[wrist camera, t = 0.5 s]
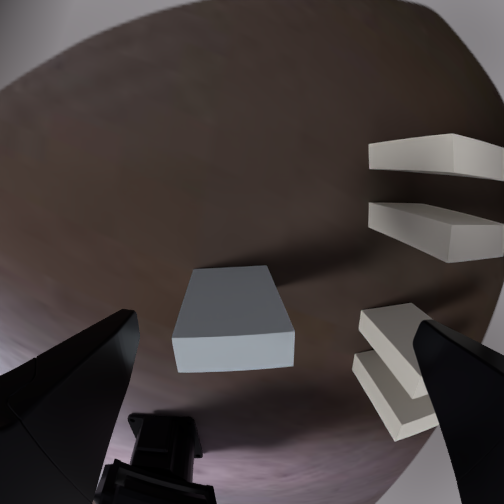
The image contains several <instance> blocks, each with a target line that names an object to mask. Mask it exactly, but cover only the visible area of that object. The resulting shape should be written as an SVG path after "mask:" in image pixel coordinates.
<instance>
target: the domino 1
mask: <svg viewBox="0 0 504 504" xmlns="http://www.w3.org/2000/svg"><path fill="white" fill-rule="evenodd" d="M294 339H295V331H294V328H293V326H292V323H291V321H290V319H289V316H288V314H287V312H286V309H285V307H284V305H283V302H282V300H281V298H280V295H279V293H278V291H277V288H276V286H275V284H274V281H273V279H272V277H271V274H270V272H269V269H268V267H267V265H263V266H245V267H226V268H207V269H193V272H192V275H191V278H190V281H189V285H188V288H187V291H186V294H185V297H184V300H183V303H182V306H181V309H180V313H179V316H178V319H177V322H176V325H175V329H174V332H173V335H172V343H173V348H174V353H175V358H176V363H177V368H178V372H222V371H241V370H255V369H268V368H278V367H288V366H293V361H294Z"/></svg>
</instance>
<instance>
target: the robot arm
mask: <svg viewBox="0 0 504 504" xmlns="http://www.w3.org/2000/svg"><path fill="white" fill-rule="evenodd" d="M139 339H140V332H139V326H138V319H137V314H136V312H135V311H134V310H128V309H121V310H119V311H118V312H116V313H114V314H112V315H110V316H109V317H107V318H105V319H103V320H101V321H99V322H98V323H96V324H94V325H92V326H90V327H89V328H87V329H85V330H83V331H81V332H80V333H78V334H76V335H74V336H72V337H71V338H69V339H67V340H65V341H63V342H62V343H60V344H58V345H56V346H54V347H53V348H51V349H49V350H47V351H46V352H44V353H42V354H40V355H38V356H37V358H33V359H31V360H30V361H28V362H26V363H24V364H22V365H20V366H19V367H17V368H15V369H13V370H11V371H9V372H7V373H5V374H3V375H1V376H0V504H92V503H91V502H93V499H94V501H95V502H96V504H217V503H216V498H215V493H214V488H213V486H210V485H201V484H196V483H192V480H193V464H194V458H202V457H203V452H202V448H201V444H200V440H199V437H198V433H197V429H196V424H195V420H194V419H193V418H191V417H167V416H147V415H134V414H130V415H129V416H128V422H129V424H130V427H131V429H132V431H133V433H134V436H135V438H136V442H135V445H134V449H133V453H132V457H131V461H130V465H129V464H126V463H123V462H121V460H118V459H115V460H114V463H113V464H108V465H105V467H104V471H103V474H102V477H101V480H100V482H99V485H98V487H97V484H98V480H99V476H100V473H101V469H102V466H103V462H104V459H105V456H106V452H107V449H108V446H109V442H110V439H111V436H112V433H113V430H114V427H115V423H116V420H117V417H118V414H119V411H120V408H121V405H122V403H123V400H124V397H125V394H126V391H127V388H128V385H129V382H130V378H131V374H132V369H133V365H134V360H135V356H136V352H137V348H138V344H139ZM413 349H414V352H415V355H416V358H417V362H418V365H419V368H420V372H421V375H422V378H423V382H424V384H425V387H426V390H427V392H428V395H429V397H430V400H431V403H432V405H433V408H434V411H435V414H436V416H437V419H438V422H439V425H440V428H441V431H442V434H443V437H444V440H445V443H446V446H447V449H448V453H449V456H450V459H451V463H452V466H453V470H454V473H455V477H456V481H457V485H458V489H459V493H460V498H461V502H462V504H504V355H502V354H500V353H498V352H496V351H494V350H492V349H490V348H488V347H486V346H484V345H482V344H480V343H478V342H476V341H474V340H472V339H470V338H468V337H467V336H465V335H463V334H461V333H459V332H457V331H455V330H453V329H451V328H449V327H447V326H444V325H442V324H440V323H438V322H436V321H434V320H431V319H430V320H423V321H421V322H420V324H419V327H418V329H417V332H416V334H415V336H414V339H413ZM96 488H97V489H96ZM95 491H96V492H95Z"/></svg>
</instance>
